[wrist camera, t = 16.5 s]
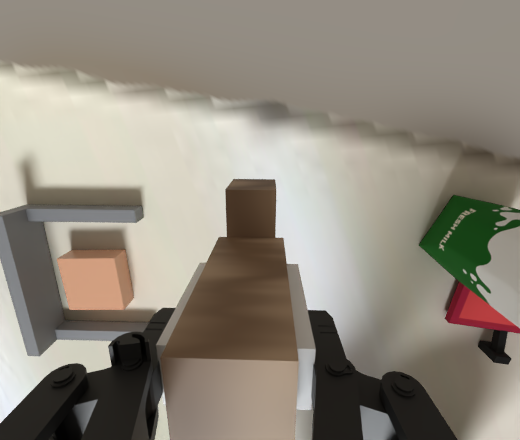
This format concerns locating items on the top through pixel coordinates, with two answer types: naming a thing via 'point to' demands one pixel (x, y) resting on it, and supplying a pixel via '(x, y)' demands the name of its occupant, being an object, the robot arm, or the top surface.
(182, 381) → the stepped wooden beam
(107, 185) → the top surface
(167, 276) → the top surface
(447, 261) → the milk carton
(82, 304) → the salmon square block
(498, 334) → the red board with handle
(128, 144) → the top surface
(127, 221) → the frame
